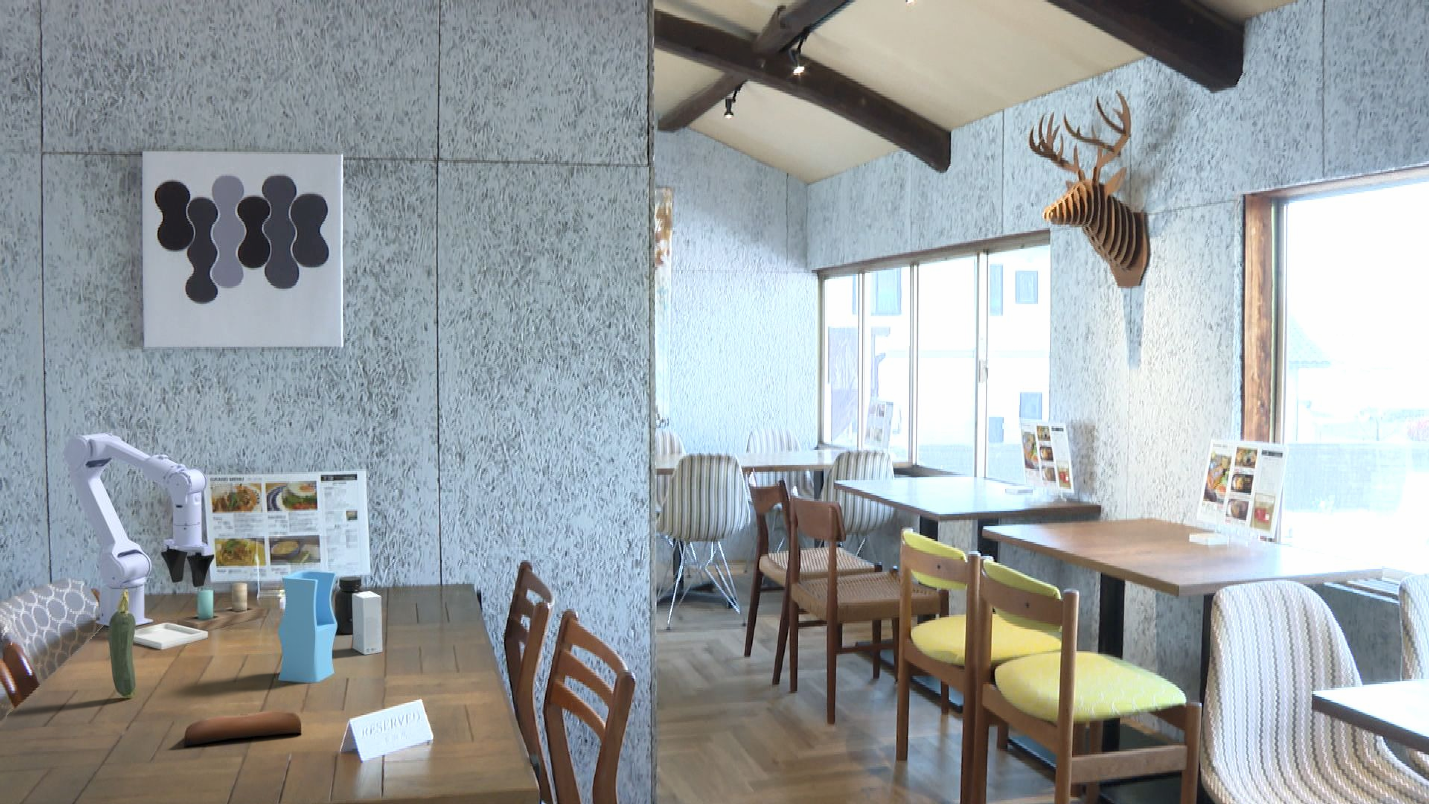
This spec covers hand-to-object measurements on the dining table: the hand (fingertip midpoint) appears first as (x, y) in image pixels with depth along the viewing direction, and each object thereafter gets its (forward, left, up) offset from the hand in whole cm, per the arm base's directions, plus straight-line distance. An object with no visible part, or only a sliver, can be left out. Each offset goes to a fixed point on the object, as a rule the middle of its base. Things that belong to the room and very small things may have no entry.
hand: (187, 584), depth 253 cm
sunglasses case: (+66, -36, -11) cm, 76 cm away
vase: (+49, -9, -10) cm, 51 cm away
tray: (+3, -8, -10) cm, 13 cm away
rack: (+1, +8, -10) cm, 13 cm away
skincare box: (+45, +10, -10) cm, 47 cm away
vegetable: (+33, -37, -10) cm, 50 cm away
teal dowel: (+1, +4, -10) cm, 11 cm away
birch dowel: (+1, +13, -10) cm, 16 cm away
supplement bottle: (+30, +19, -10) cm, 37 cm away
